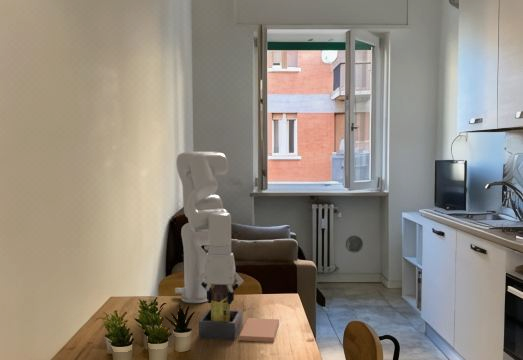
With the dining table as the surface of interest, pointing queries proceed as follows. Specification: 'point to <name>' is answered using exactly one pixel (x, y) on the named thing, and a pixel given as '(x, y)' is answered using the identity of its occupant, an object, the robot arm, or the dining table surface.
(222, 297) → the sauce bottle
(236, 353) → the dining table surface
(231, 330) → the bottle holder
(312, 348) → the dining table surface
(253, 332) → the plate
